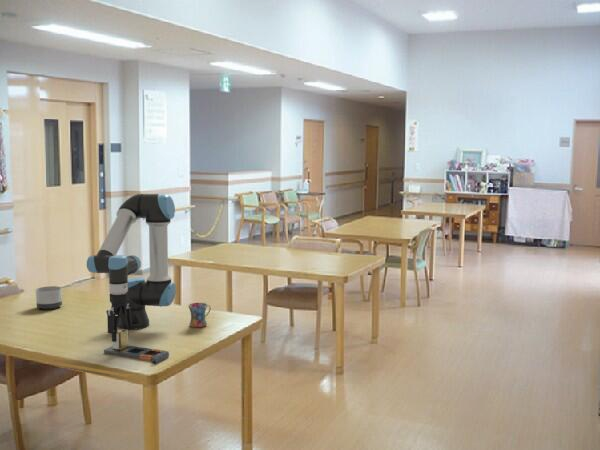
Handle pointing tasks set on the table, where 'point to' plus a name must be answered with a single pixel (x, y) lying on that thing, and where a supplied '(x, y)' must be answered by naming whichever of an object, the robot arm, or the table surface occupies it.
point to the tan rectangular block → (122, 339)
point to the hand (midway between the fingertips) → (120, 346)
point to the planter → (49, 297)
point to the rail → (140, 353)
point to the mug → (198, 314)
